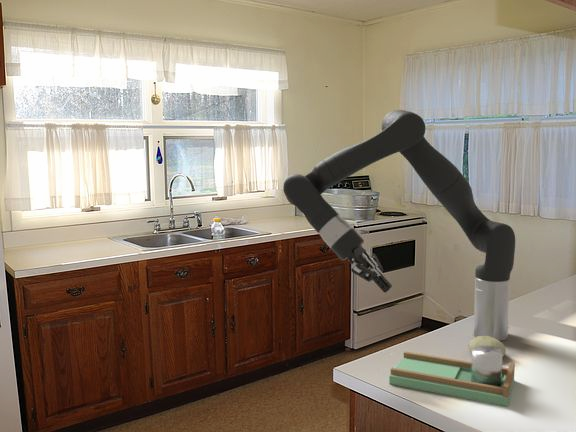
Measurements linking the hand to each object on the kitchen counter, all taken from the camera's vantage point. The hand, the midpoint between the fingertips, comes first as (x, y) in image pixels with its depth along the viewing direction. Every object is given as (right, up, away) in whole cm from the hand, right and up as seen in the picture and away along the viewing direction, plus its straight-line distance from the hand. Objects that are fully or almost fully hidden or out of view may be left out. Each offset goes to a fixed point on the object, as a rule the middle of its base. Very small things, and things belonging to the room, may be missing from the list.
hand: (388, 289), depth 133 cm
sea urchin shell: (+28, -19, +11) cm, 36 cm away
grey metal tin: (+21, -20, -8) cm, 30 cm away
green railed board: (+14, -21, -4) cm, 26 cm away
